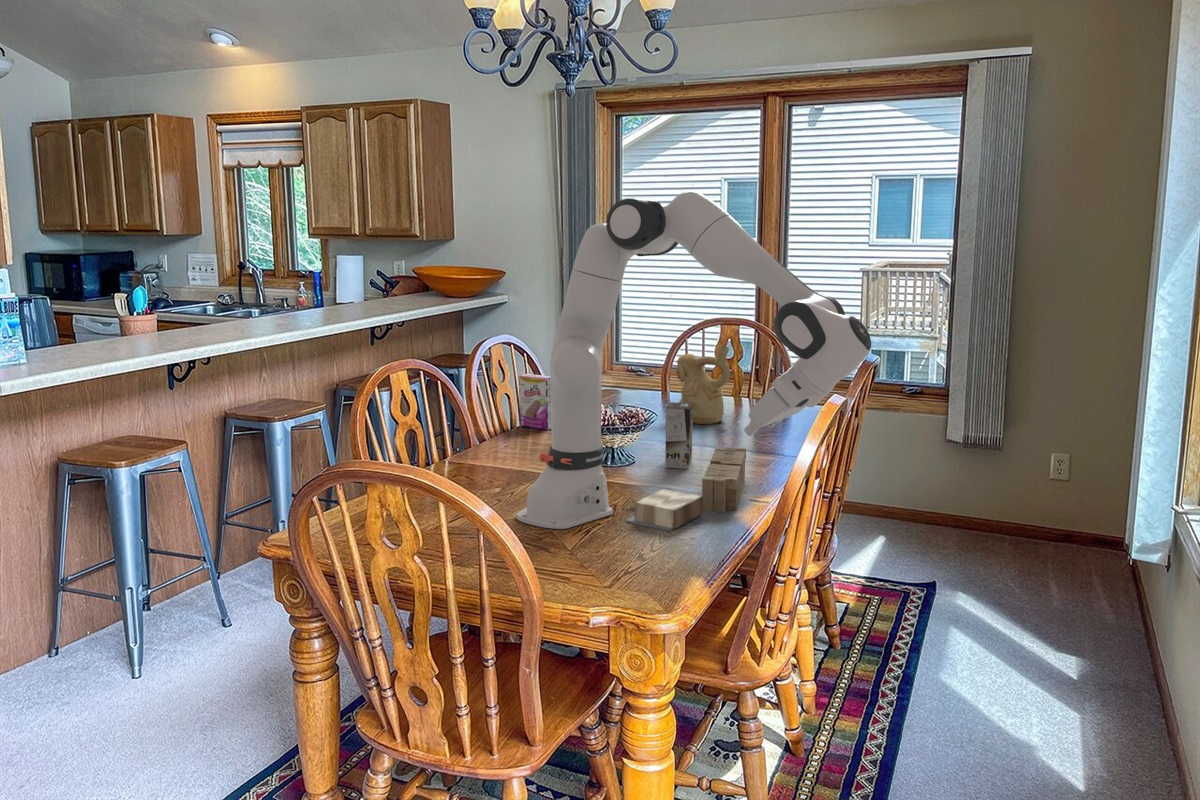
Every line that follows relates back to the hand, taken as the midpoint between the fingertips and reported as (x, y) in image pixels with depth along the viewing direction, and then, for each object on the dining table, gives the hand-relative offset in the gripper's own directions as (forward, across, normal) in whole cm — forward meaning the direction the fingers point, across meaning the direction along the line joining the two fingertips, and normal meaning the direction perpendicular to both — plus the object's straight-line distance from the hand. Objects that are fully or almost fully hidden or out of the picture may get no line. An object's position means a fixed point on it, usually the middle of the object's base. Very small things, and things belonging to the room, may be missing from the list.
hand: (757, 429), depth 189 cm
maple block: (+24, +3, +3) cm, 24 cm away
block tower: (+28, -22, +2) cm, 36 cm away
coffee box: (+43, -38, -14) cm, 59 cm away
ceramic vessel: (+56, -90, -30) cm, 110 cm away
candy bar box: (+83, -53, -57) cm, 114 cm away
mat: (+30, +2, 0) cm, 30 cm away
